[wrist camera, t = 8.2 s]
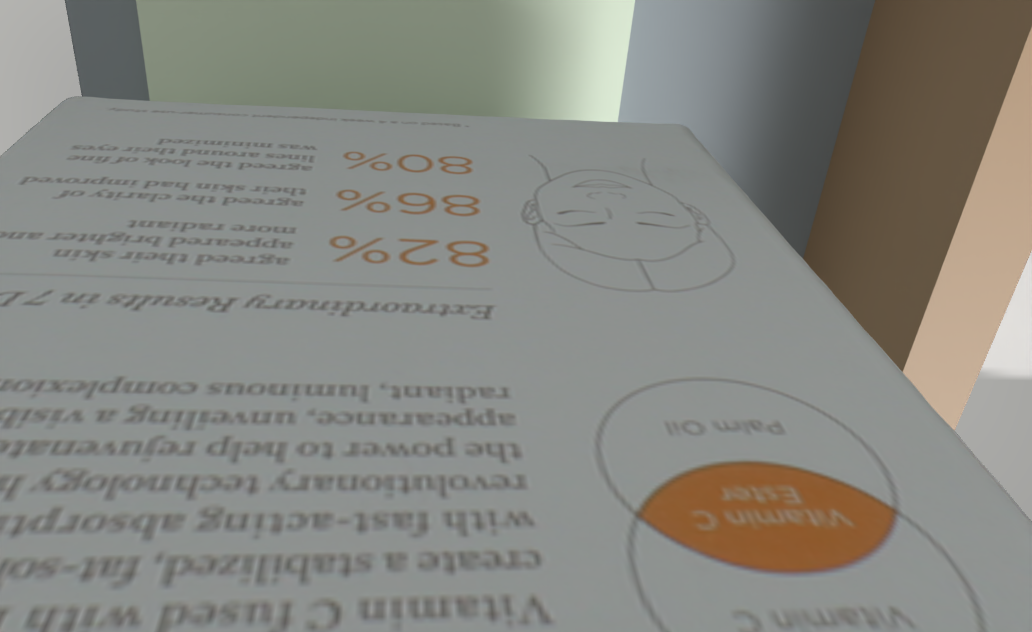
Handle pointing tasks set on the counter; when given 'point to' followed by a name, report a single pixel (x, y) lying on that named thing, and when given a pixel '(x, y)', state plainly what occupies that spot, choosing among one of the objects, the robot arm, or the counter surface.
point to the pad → (392, 55)
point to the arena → (822, 146)
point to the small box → (452, 391)
